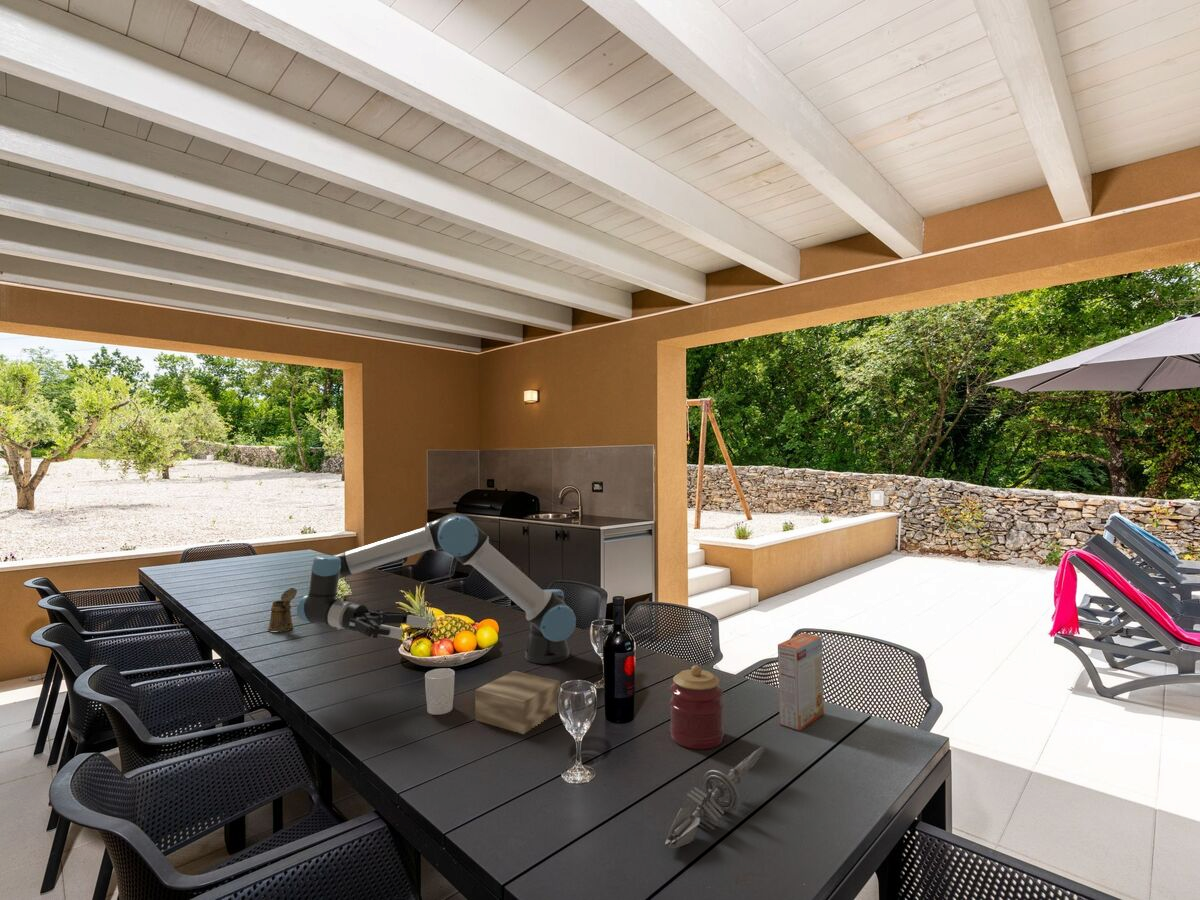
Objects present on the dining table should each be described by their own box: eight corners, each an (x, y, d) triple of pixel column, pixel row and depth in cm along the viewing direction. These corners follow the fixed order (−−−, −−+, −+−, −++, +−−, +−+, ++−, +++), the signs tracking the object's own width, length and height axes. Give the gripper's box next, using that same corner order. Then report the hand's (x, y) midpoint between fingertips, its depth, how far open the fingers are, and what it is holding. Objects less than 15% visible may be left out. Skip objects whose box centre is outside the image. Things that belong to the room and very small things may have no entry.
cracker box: (803, 708, 162) (802, 631, 162) (824, 715, 158) (823, 636, 158) (777, 724, 152) (776, 643, 153) (799, 732, 148) (798, 648, 148)
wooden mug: (280, 635, 233) (280, 589, 233) (263, 630, 240) (263, 585, 241) (302, 630, 240) (302, 585, 240) (285, 625, 248) (286, 582, 248)
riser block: (514, 698, 170) (514, 670, 170) (560, 710, 162) (559, 681, 162) (475, 720, 156) (475, 689, 156) (523, 734, 148) (523, 702, 148)
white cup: (446, 717, 158) (446, 679, 158) (419, 714, 160) (419, 677, 160) (459, 705, 166) (459, 669, 166) (433, 702, 168) (433, 667, 168)
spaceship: (784, 746, 125) (752, 722, 130) (692, 844, 99) (656, 809, 104) (773, 774, 127) (742, 749, 132) (681, 877, 102) (645, 842, 106)
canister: (660, 731, 149) (660, 661, 149) (704, 722, 154) (703, 654, 154) (688, 755, 137) (687, 678, 137) (734, 744, 142) (733, 670, 143)
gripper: (373, 620, 183) (435, 632, 178) (317, 639, 159) (387, 653, 154) (376, 595, 183) (438, 606, 178) (321, 610, 159) (391, 624, 154)
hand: (415, 628), depth 166 cm, fingers open, 13 cm apart
